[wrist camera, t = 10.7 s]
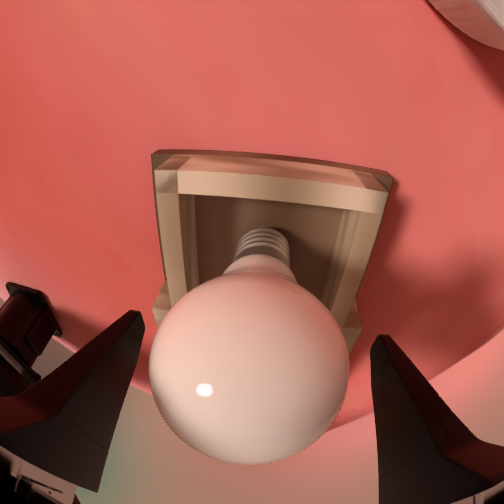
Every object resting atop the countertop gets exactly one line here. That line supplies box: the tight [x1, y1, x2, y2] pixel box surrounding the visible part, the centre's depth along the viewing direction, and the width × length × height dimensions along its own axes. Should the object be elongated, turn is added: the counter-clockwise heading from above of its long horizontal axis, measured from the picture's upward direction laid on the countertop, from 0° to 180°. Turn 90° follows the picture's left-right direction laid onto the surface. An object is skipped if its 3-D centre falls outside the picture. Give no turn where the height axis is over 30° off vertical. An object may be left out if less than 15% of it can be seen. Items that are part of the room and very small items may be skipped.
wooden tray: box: [151, 149, 393, 355], centre depth 17 cm, size 12×18×4 cm, turn 177°
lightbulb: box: [149, 227, 350, 465], centre depth 10 cm, size 6×6×11 cm
